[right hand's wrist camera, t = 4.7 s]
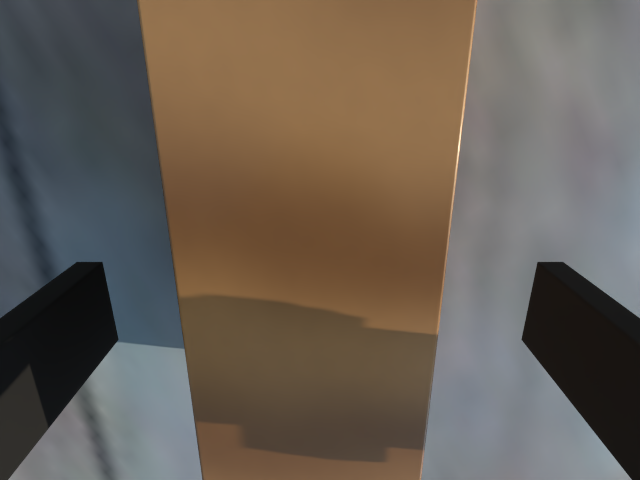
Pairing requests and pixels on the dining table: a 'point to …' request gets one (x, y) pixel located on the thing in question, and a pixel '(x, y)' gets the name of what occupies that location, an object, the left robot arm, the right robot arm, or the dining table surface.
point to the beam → (309, 222)
